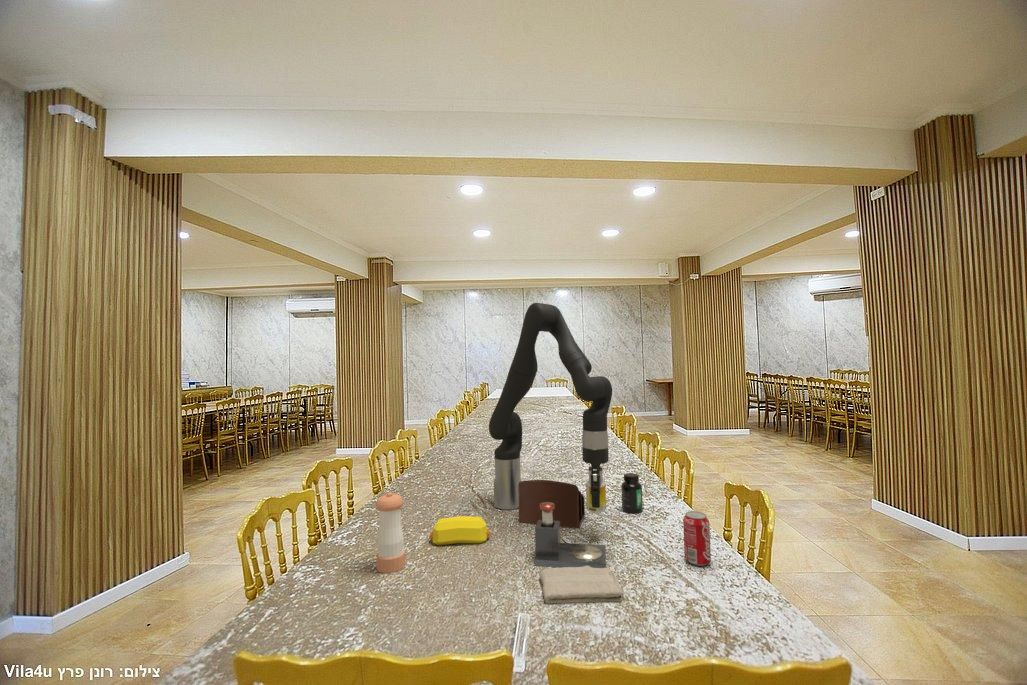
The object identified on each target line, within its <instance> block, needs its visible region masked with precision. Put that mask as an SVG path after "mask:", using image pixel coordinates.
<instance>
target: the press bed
mask: <svg viewBox="0 0 1027 685" xmlns="http://www.w3.org/2000/svg"><path fill="white" fill-rule="evenodd" d="M534 535H535V536H534V538H535V539H534V540H535V541H534V542H535V557H534V560H533V562H534V566H535V567H536V566H537V567H551V568H563V567H583V566H590V567H592V568H607V549H606V544H589V543H572V542H571V543H570V542H561V527H560V521H553V527H543V524H542V520H538V522H537V524H535V527H534Z"/></svg>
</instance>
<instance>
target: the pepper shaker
mask: <svg viewBox="0 0 1027 685" xmlns="http://www.w3.org/2000/svg"><path fill="white" fill-rule="evenodd" d="M404 503H405V502H404V499H403V497H402V496H401V495H400V494H397V493H393V492H391V491H388V492H387V493H386V494H384V495H382V496H380V497H378V498H377V500H376V501H375V508H376V510H378V515H379V517H378V521H379V522H378V526H379V527H378V532H377V533H378V534H377V541H376V542H377V554H376V571H378V572H379V573H383V574H391V573H392V574H393V573H395V572H396V573H397V572H399V571H401V570H403V569H404V568H405V567H406V549H405V548H404V546H405V544H404V534H403V527H402V512H401V508H402V507H403V506H404Z"/></svg>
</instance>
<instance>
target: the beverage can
mask: <svg viewBox="0 0 1027 685" xmlns="http://www.w3.org/2000/svg"><path fill="white" fill-rule="evenodd" d="M709 520H710V519H708V517H707V514H706V513H705V512H704V513H703V512H702V511H695V510H693V511H692V510H690V511H686V512H685V513H684V517H683V519H682V521H683V523H682V524H683V527H682V528H683V547H684V548H683V549H684V552H683V553H684V560H686V561H687V562H689V563H690V564H692V565H694V566H699V567H700V566H701V567H702V566H706V565H707V564H710V563H711V562H712V556H711V554H712V553H711V551H712V550H711V531H710V529H711V528H710V527H711V525H710V524H711V523H710V521H709Z"/></svg>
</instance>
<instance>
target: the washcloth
mask: <svg viewBox="0 0 1027 685" xmlns="http://www.w3.org/2000/svg"><path fill="white" fill-rule="evenodd" d="M539 579H540V582H541V584H542V594H543V600H544V602H545V604H548V605H550V603H551V604H553V603H555V604H576V603H577V604H580V603H597V602H602V603H604V602H605V603H606V602H608V603H609V601H611V602H612V601H613V602H615V603H616V602H623V596H622V593H624V591H625V590H624V589H622V587H621V585H620V583H619V582H620V581H618V578H617V576H616V574H615V571H613V570H611V569H610V568H609V567H606V568H592V567H590V566H583V567H551V568H550V567H548V568H545V569H542V570H541V571H540V572H539ZM613 602H612V603H613Z"/></svg>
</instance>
